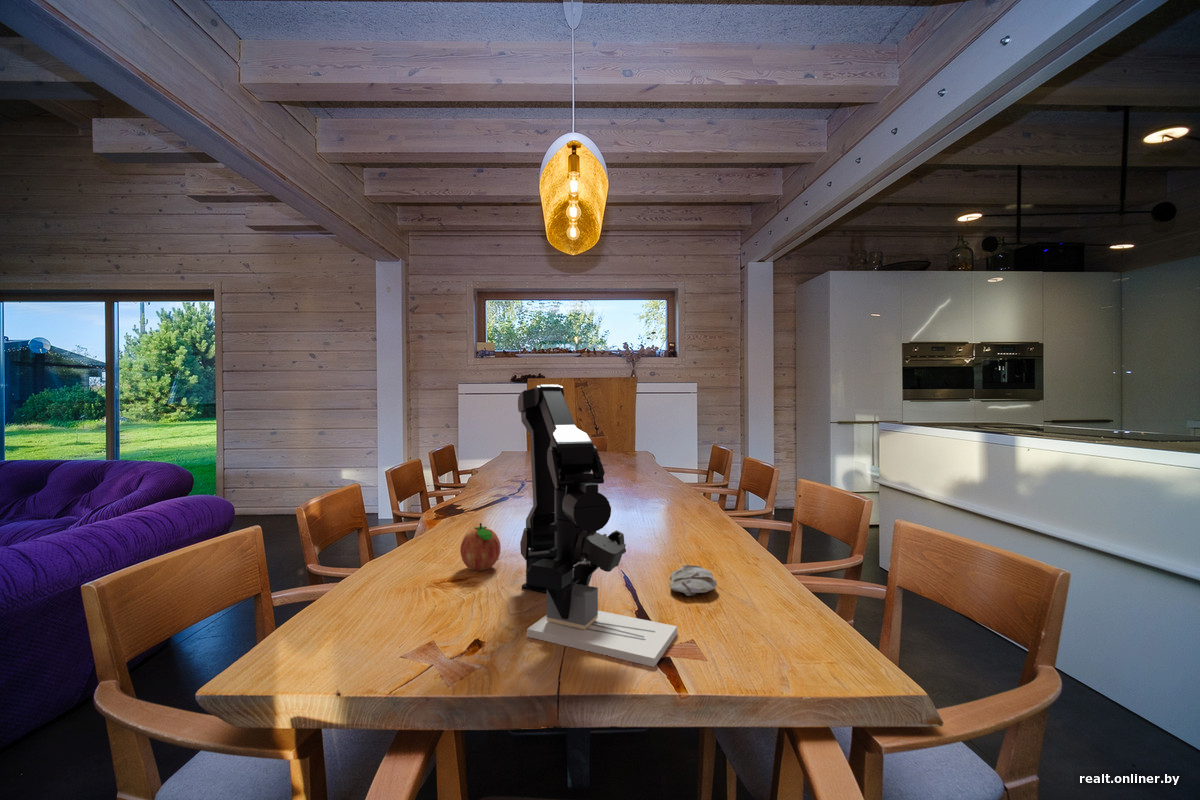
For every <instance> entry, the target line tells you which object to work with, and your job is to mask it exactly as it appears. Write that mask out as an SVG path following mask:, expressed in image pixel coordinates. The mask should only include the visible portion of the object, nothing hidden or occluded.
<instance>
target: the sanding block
mask: <svg viewBox="0 0 1200 800" xmlns="http://www.w3.org/2000/svg"><path fill="white" fill-rule="evenodd" d="M598 598H599V587H597V586H596V587H595V586H591V585H589V586H586V585H581V584H575V585H574V586H573V587H572V594H571V603H570V612H569V618H568V619H562V618H561V616H560V614H559V612H558V610H557V608H556V606H555V604H554V602H553V600H552V598H551V596H550V594H549V592H548V591H547V593H546V615H547V621H549V622H554V623H558V624H562V625H567V626H571V627H576V628H580V629H586V628H587V627H589V626H590V625H591V624H592V623H593V622H594V621H595V620H596V619H597V618H598V611H599V610H598V609H599V605H598V604H599V603H598V602H599V599H598Z"/></svg>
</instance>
